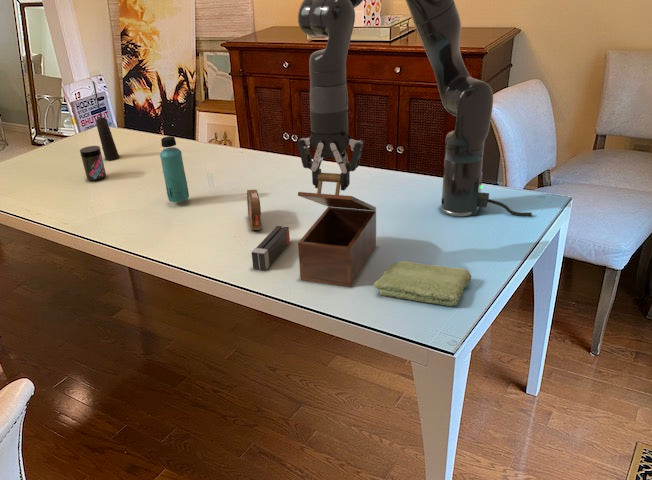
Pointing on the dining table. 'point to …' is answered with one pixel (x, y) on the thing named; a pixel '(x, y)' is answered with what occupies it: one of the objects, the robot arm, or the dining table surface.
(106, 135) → the butter churn
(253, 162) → the dining table surface
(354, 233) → the chest
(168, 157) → the beverage bottle
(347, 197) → the lid
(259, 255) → the dark grey long block
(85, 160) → the supplement container
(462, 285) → the washcloth
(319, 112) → the robot arm
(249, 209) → the tin
